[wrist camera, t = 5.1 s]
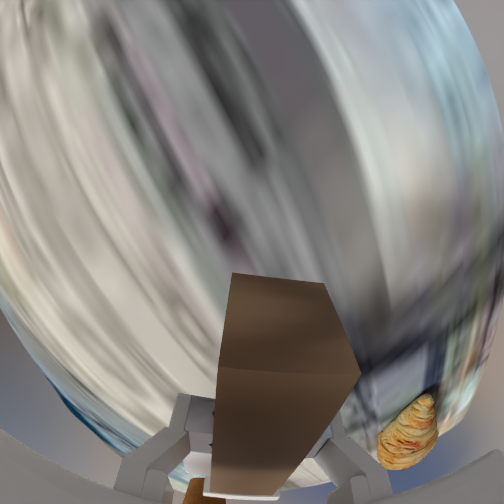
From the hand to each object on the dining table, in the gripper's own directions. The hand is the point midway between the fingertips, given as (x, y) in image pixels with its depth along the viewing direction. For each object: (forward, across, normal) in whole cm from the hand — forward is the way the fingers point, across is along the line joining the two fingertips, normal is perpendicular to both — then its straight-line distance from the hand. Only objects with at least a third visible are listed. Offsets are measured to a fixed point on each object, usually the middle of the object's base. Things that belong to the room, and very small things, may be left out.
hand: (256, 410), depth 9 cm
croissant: (+11, -26, +23) cm, 36 cm away
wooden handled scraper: (+2, 0, +4) cm, 4 cm away
